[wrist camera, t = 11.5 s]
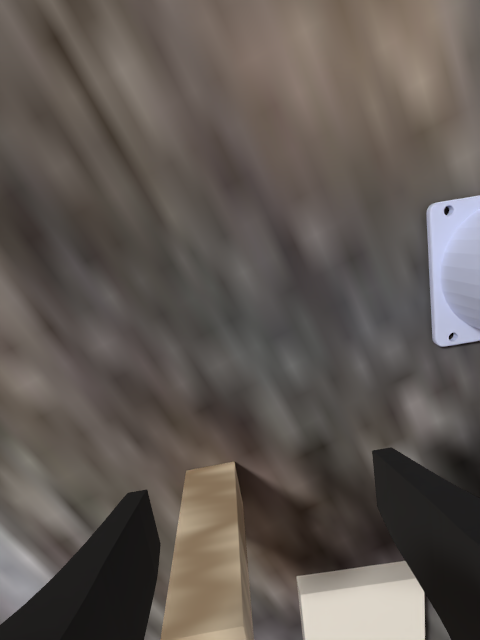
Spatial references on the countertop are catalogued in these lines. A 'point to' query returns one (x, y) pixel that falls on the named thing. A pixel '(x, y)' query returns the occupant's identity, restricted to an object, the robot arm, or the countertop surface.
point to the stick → (209, 561)
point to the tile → (362, 604)
